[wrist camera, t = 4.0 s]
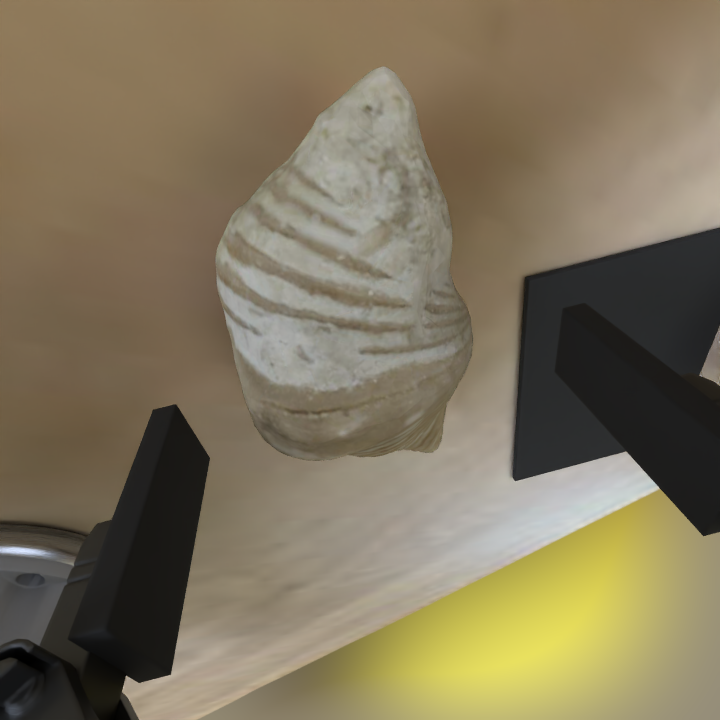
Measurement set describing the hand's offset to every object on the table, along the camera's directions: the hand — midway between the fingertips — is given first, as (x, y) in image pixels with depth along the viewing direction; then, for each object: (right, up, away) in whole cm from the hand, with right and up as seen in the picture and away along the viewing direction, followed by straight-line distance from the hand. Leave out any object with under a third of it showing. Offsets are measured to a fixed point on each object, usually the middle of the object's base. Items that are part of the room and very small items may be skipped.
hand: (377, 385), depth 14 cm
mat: (+15, 0, +11) cm, 18 cm away
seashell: (-1, +4, +5) cm, 7 cm away
